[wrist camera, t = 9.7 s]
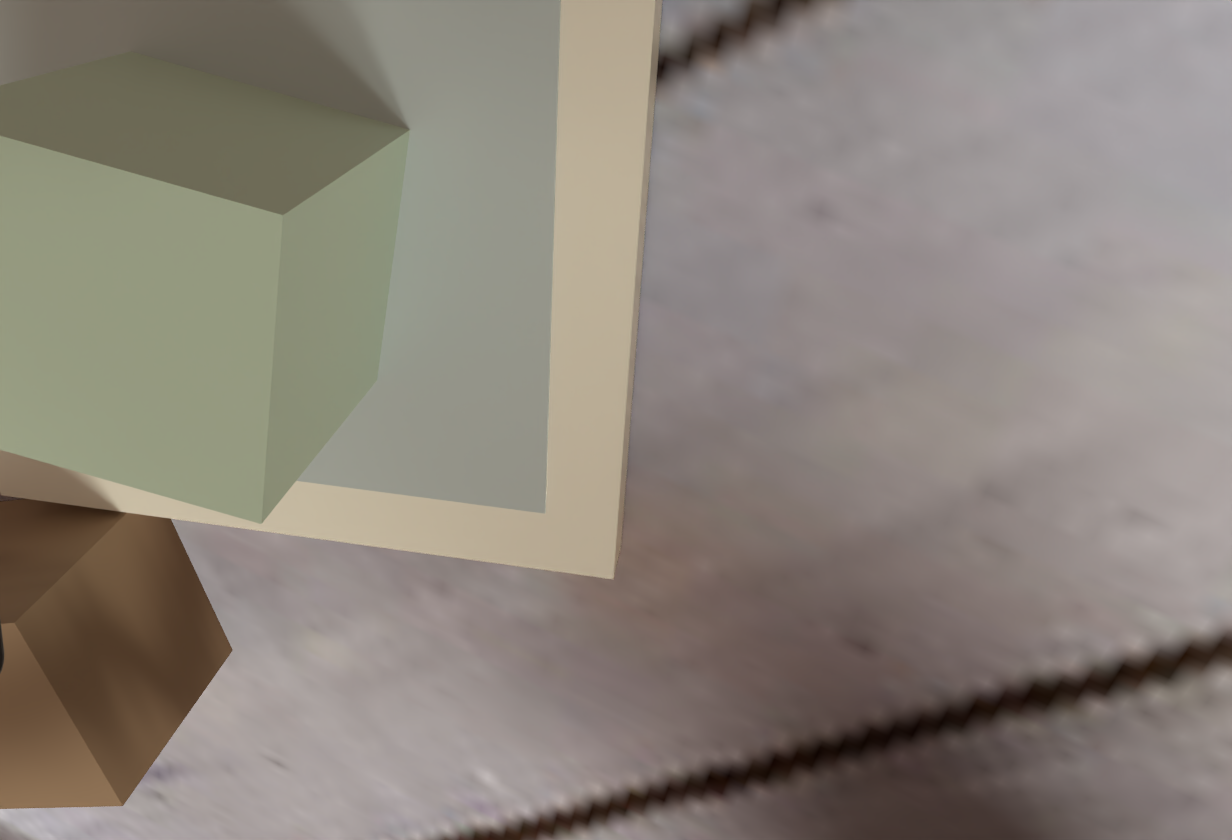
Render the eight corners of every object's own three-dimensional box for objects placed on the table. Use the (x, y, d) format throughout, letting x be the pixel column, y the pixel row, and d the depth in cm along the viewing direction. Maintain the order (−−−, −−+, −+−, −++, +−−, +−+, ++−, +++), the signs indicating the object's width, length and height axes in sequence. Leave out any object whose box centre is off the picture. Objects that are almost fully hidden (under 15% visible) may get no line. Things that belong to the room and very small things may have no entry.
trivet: (621, 546, 22) (612, 581, 21) (36, 468, 23) (-1, 496, 22) (676, -190, 15) (669, -195, 14) (-152, -241, 17) (-219, -250, 15)
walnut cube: (234, 647, 25) (122, 805, 21) (68, 658, 27) (-70, 810, 22) (156, 483, 23) (14, 622, 19) (-21, 502, 24) (-194, 637, 20)
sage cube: (376, 380, 19) (261, 523, 15) (133, 311, 19) (-53, 434, 15) (409, 130, 17) (282, 214, 13) (130, 51, 17) (-93, 109, 13)
